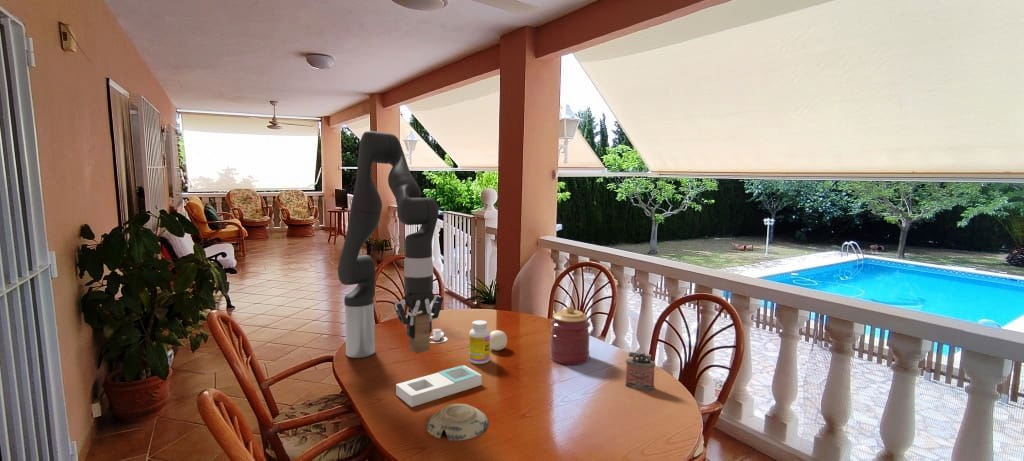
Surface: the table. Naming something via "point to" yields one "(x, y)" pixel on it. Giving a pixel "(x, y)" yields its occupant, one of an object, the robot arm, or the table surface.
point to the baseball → (497, 340)
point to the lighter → (640, 371)
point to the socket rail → (438, 385)
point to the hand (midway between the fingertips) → (419, 335)
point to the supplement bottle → (479, 343)
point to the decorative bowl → (458, 422)
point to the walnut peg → (421, 333)
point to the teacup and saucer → (438, 335)
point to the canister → (569, 337)
